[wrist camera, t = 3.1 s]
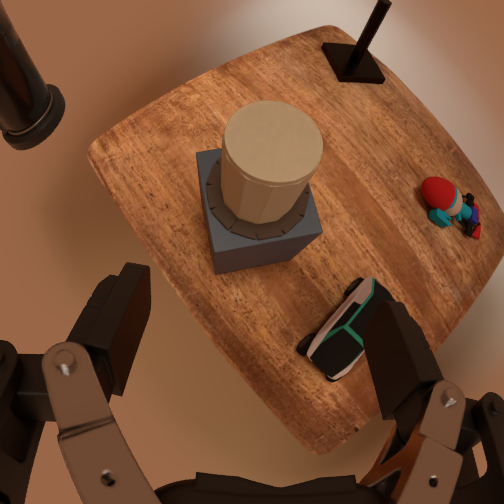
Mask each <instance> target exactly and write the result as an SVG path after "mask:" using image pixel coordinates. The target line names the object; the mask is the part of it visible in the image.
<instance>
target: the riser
mask: <svg viewBox="0 0 504 504" xmlns="http://www.w3.org/2000/svg"><path fill="white" fill-rule="evenodd" d="M220 157H222V148H221V149H214V150H208V151H202V152H197V153H196V159H197V168H198V176H199V185H200V193H201V201H202V207H203V213H204V218H205V223H206V229H207V234H208V239H209V245H210V250H211V255H212V260H213V265H214V270H215V274H216V275H217V274H222V273H227V272H232V271H237V270H242V269H247V268H252V267H257V266H262V265H267V264H272V263H277V262H282V261H287V260H291V259H292V258H293V257H294V256H295V255H297V254H298V253H299V252H300V251H301V250H302V249H304V248H305V247H306V246H307V245H308V244H310V243H311V242H312V241H313V240H314V239H315V238H317V237H318V236H319V235H320V234H321V233H322V232H323V231H322V227H321V224H320V220H319V216H318V213H317V209H316V206H315V202H314V199H313V196H312V192H311V189H310V185H309V182H308V187H309V190H310V192H309V194H310V197H309V201H308V205H307V208H306V212H305V215H304V217H302V216H301V217H302V218H303V219H302V220H301V221H300V222H299V223H297V224H296V225H295V226H294V227H293V228H292V229H291V230H290V231H289V232H287V233H286V234H284V233H283V232H282V233H283V235H282V236H280V237H274V238H269V239H264V240H257V235H256V238H255V240H252V239H249V238H246V237H243V236H240V235H237V234H234V233H231V232H230V231H231V228H232V227H231V228H230V229H229V230H227V229H226V228H225V227H224V226H223V225H222V224H221V223H220V222H219V221H218V219H217V218H216V217H215V216H214V215H213V214H212V213H211V211H212V210H213V209H211V210H210V208H209V203H208V198H207V192H206V186H207V185H206V181H207V179H208V176H209V174H210V172H211V169H212V167H213V164H214V163H216V160H217V159H219V158H220Z"/></svg>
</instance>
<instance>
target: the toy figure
mask: <svg viewBox="0 0 504 504" xmlns="http://www.w3.org/2000/svg"><path fill="white" fill-rule="evenodd" d="M421 189H422V194H423V196H424V198H425V200H426V201H427V202H428V204H429V205H430V206H432V207H433V208H432V209H431V210H430V212H429V218H430V219H431V220H432V221H434V222H435V223H436V224H437V225H439V226H440V227H446V226H451V224H450V222H449V221H448V220H452V219H451V217H450V216H456V221H458V222H459V223H460V224H461V225H462V226H463V227H464V228H465V230H464V233H465V234H466V235H468V236H469V237H471V236H473V237H475V238H476V239H478V240H479V237H480V230H481V224H480V222H479V208H478V206H477V205H476V204H475V203H474V202H473V201H474V196H473V195H472V194H470V193H467V194H466V196H464V195H461V193H460V191H459V190H458V189H457V188H456V187H455V185H453V184H452V183H451V182H450V181H448V180H446V179H444V178H440V177H429V178H427V179H425V180H424V181H423V183H422V186H421ZM462 197H464V198H466V199H468V200H466V204H464V203H463V200H462V199H463V198H462ZM461 217H462V218H463V219H465V220H466V221H465V225H464V224H463V223H462V222H461V220H462V219H461ZM474 224H477V226H476V228H475V230H474V232H473V234H472V230H473V229H472V227H473V225H474Z"/></svg>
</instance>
